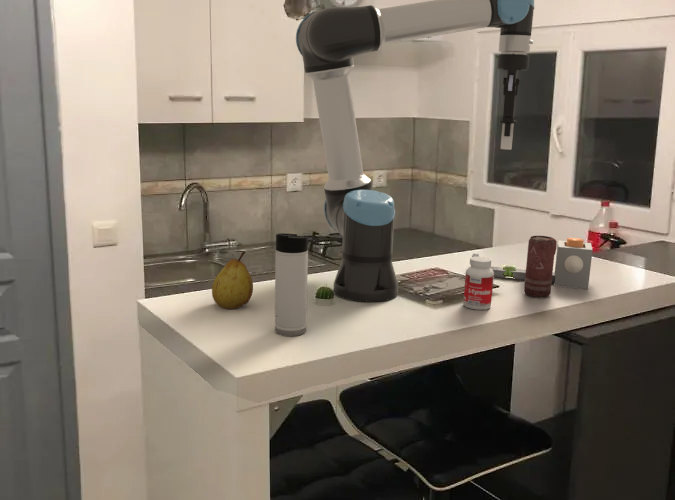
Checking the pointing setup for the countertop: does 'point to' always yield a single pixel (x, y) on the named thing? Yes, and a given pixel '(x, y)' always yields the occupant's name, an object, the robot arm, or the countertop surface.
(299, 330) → the travel mug
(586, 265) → the grey box
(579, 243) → the plunger
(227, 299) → the fruit
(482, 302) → the pill bottle
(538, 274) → the can
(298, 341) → the countertop surface
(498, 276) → the rail
